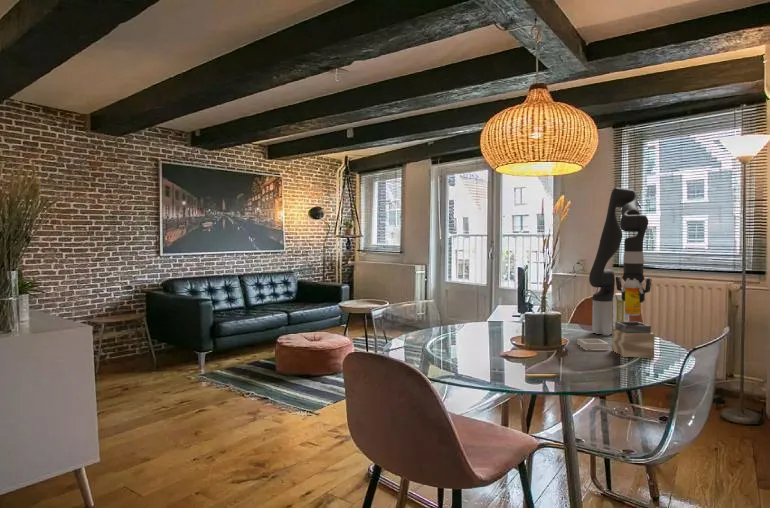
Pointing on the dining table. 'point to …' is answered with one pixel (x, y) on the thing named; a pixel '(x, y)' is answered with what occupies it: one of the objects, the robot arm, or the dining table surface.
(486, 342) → the dining table surface
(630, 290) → the beer can
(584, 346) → the low collar
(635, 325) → the stand
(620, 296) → the juice carton
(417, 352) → the dining table surface
